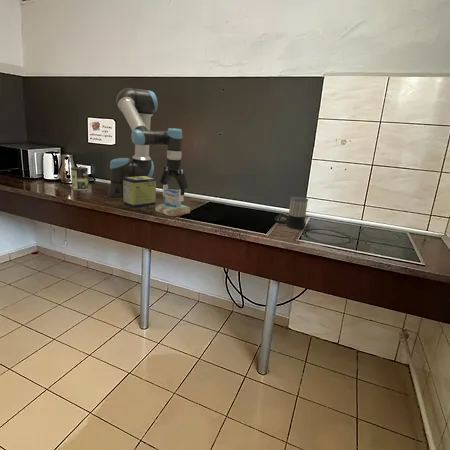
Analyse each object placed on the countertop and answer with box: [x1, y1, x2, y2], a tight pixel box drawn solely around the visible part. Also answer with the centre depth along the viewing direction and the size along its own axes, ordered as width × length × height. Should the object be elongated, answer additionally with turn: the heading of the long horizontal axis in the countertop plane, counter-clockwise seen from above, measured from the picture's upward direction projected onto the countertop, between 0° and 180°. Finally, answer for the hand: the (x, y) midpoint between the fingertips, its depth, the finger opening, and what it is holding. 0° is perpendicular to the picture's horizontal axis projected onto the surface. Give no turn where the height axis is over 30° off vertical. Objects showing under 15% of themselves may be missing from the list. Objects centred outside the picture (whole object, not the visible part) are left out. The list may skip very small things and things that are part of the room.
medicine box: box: [164, 188, 182, 207], centre depth 179 cm, size 8×4×9 cm, turn 61°
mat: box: [157, 203, 189, 210], centre depth 181 cm, size 12×11×1 cm
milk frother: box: [274, 196, 309, 230], centre depth 172 cm, size 14×16×15 cm
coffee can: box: [70, 166, 90, 191], centre depth 220 cm, size 10×10×14 cm
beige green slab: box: [154, 204, 191, 217], centre depth 181 cm, size 14×13×3 cm
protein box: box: [123, 176, 157, 208], centre depth 191 cm, size 10×16×16 cm
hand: (172, 198), depth 179 cm, fingers open, 13 cm apart
